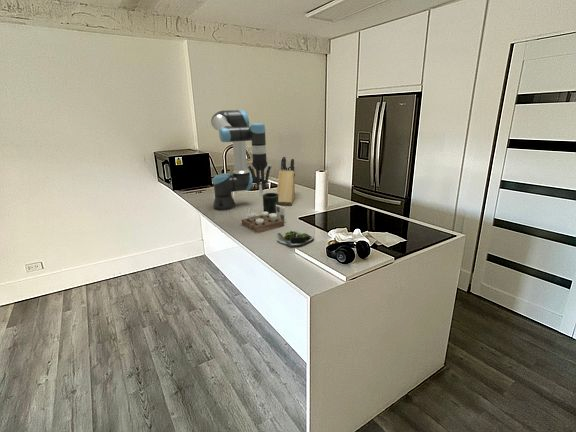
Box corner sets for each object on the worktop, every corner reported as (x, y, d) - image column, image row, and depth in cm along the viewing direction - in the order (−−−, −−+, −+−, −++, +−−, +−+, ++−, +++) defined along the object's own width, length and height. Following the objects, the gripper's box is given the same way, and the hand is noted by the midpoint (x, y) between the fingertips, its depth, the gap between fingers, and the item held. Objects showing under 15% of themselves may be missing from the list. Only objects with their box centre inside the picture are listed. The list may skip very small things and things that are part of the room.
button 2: (254, 227, 178) (254, 219, 176) (261, 225, 180) (260, 217, 178) (258, 229, 174) (258, 221, 173) (265, 227, 177) (264, 219, 175)
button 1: (246, 221, 184) (246, 213, 183) (253, 219, 187) (252, 212, 185) (250, 223, 181) (249, 215, 179) (257, 221, 183) (256, 214, 182)
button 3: (260, 220, 189) (259, 212, 188) (266, 218, 192) (265, 211, 190) (263, 221, 186) (263, 214, 185) (270, 220, 188) (269, 212, 187)
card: (276, 218, 194) (275, 204, 191) (280, 217, 196) (280, 203, 193) (284, 222, 187) (284, 208, 184) (289, 221, 189) (288, 206, 186)
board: (241, 224, 185) (241, 219, 184) (267, 218, 195) (267, 213, 194) (257, 233, 171) (257, 227, 170) (284, 225, 181) (283, 220, 180)
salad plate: (266, 241, 161) (266, 232, 160) (290, 231, 174) (290, 223, 172) (294, 251, 149) (294, 242, 147) (318, 239, 161) (318, 231, 159)
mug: (264, 215, 200) (263, 197, 196) (261, 209, 214) (260, 192, 210) (281, 214, 202) (280, 196, 198) (276, 208, 216) (276, 191, 212)
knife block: (296, 193, 252) (295, 155, 242) (291, 206, 219) (290, 161, 209) (282, 193, 253) (281, 155, 243) (275, 206, 220) (274, 162, 210)
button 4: (267, 222, 182) (267, 214, 181) (274, 220, 185) (273, 212, 183) (272, 224, 179) (271, 216, 177) (278, 222, 181) (278, 214, 180)
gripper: (245, 154, 166) (248, 197, 174) (269, 154, 164) (271, 197, 172) (249, 152, 173) (252, 193, 181) (272, 152, 171) (274, 194, 179)
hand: (261, 195), depth 176 cm, fingers closed
